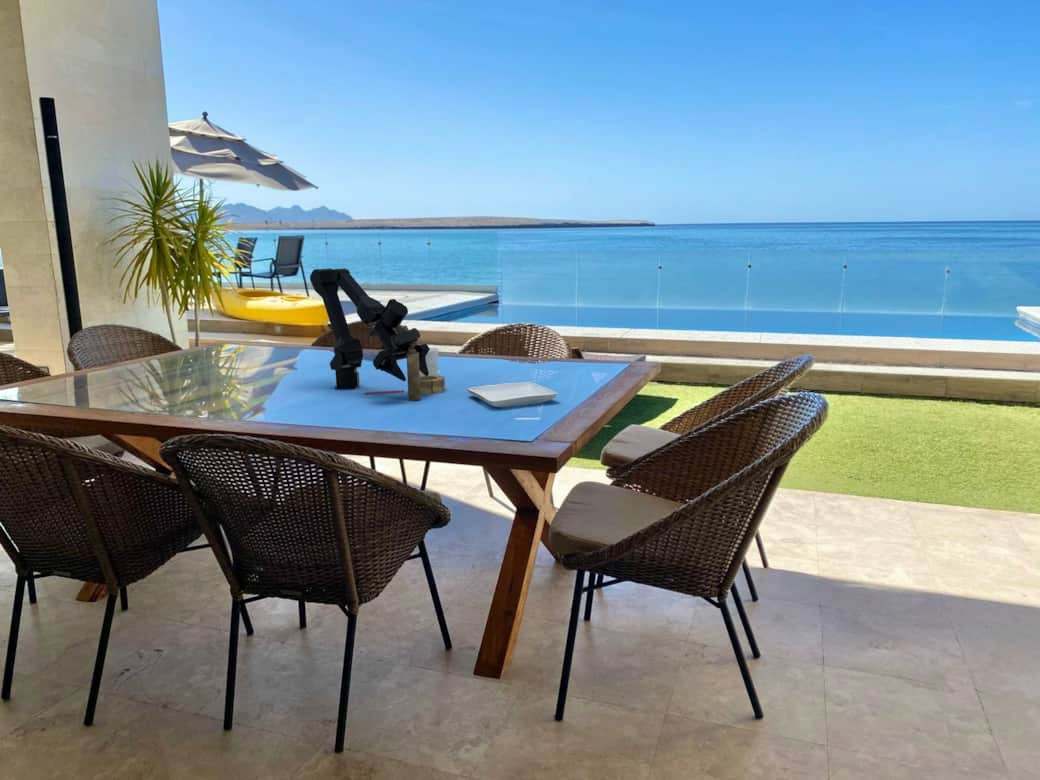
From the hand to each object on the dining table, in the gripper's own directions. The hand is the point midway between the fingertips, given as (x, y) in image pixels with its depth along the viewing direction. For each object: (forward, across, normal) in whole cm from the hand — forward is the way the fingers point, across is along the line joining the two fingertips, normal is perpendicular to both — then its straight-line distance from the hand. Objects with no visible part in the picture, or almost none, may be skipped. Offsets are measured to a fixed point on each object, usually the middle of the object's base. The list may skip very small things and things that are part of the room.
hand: (416, 377), depth 227 cm
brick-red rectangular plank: (-7, +1, +16) cm, 17 cm away
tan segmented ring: (0, +12, +10) cm, 15 cm away
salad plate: (+21, +17, -11) cm, 29 cm away
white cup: (-11, +26, +20) cm, 35 cm away
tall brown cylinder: (+4, 0, +6) cm, 7 cm away
